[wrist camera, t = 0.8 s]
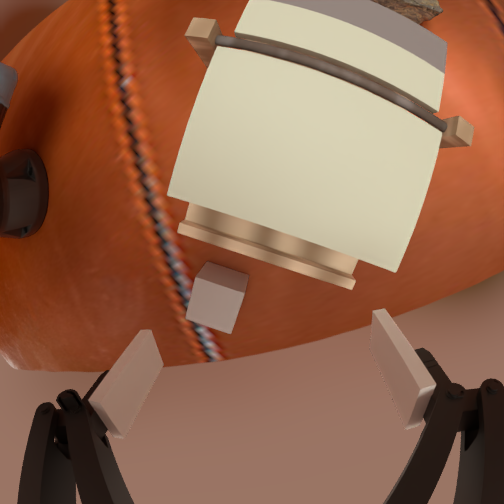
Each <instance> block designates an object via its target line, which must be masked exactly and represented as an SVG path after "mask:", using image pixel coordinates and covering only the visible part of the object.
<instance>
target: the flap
mask: <svg viewBox="0 0 504 504" xmlns="http://www.w3.org/2000/svg"><path fill="white" fill-rule="evenodd" d="M234 32H235V36H236V37H237V38H242V39H248V40H252V41H257V42H262V43H266V44H270V45H274V46H278V47H282V48H285V49H289V50H293V51H296V52H299V53H303V54H306V55H309V56H312V57H315V58H318V59H321V60H324V61H326V62H329V63H332V64H334V65H337V66H340V67H342V68H345V69H347V70H350V71H352V72H354V73H357V74H359V75H361V76H364V77H366V78H368V79H370V80H372V81H374V82H376V83H379V84H381V85H383V86H385V87H387V88H389V89H391V90H393V91H394V92H396V93H398V94H400V95H402V96H404V97H406V98H407V99H409V100H411V101H413V102H414V103H416V104H418V105H419V106H421V107H423V108H424V109H426V110H428V111H429V112H431V113H432V114H433V113H436V112H439V107H440V101H441V95H442V88H443V81H444V74H445V65H446V54H447V42H445V41H444V40H442V39H441V38H439V37H438V36H436V35H435V34H433V33H432V32H430V31H428V30H427V29H425V28H424V27H422V26H420V25H418V24H417V23H415V22H413V21H411V20H410V19H408V18H406V17H404V16H402V15H400V14H398V13H396V12H394V11H392V10H390V9H388V8H386V7H384V6H382V5H380V4H378V3H375V2H373V1H371V0H249V2H248V4H247V6H246V8H245V10H244V12H243V14H242V16H241V18H240V21H239V23H238V25H237V27H236V29H235V31H234ZM441 137H442V132H440V131H439V130H437V129H436V128H434V127H433V126H431V125H429V124H428V123H426V122H424V121H423V120H421V119H419V118H418V117H416V116H414V115H413V114H411V113H409V112H407V111H406V110H404V109H402V108H400V107H398V106H396V105H394V104H392V103H391V102H389V101H387V100H385V99H383V98H381V97H379V96H376V95H374V94H372V93H370V92H368V91H366V90H364V89H361V88H359V87H357V86H354V85H352V84H350V83H347V82H345V81H342V80H340V79H337V78H335V77H332V76H330V75H327V74H324V73H321V72H319V71H316V70H313V69H310V68H307V67H304V66H301V65H297V64H294V63H291V62H287V61H284V60H280V59H277V58H273V57H269V56H265V55H261V54H256V53H252V52H247V51H243V50H238V49H232V48H227V47H221V46H217V48H216V50H215V52H214V55H213V57H212V60H211V62H210V64H209V67H208V69H207V72H206V74H205V77H204V80H203V82H202V85H201V87H200V90H199V93H198V96H197V98H196V101H195V104H194V107H193V110H192V112H191V115H190V118H189V121H188V124H187V127H186V130H185V133H184V137H183V140H182V143H181V146H180V150H179V153H178V156H177V160H176V163H175V167H174V170H173V174H172V177H171V181H170V185H169V189H168V193H167V196H170V197H174V198H177V199H180V200H184V201H187V202H190V203H193V204H197V205H200V206H203V207H206V208H209V209H213V210H216V211H219V212H222V213H225V214H228V215H231V216H235V217H238V218H241V219H244V220H247V221H250V222H253V223H256V224H259V225H262V226H265V227H268V228H271V229H274V230H277V231H280V232H283V233H286V234H289V235H292V236H295V237H298V238H301V239H304V240H306V241H309V242H312V243H315V244H318V245H321V246H324V247H326V248H329V249H332V250H335V251H338V252H341V253H343V254H346V255H349V256H352V257H354V258H357V259H360V260H363V261H365V262H368V263H371V264H374V265H376V266H379V267H382V268H384V269H387V270H390V271H392V272H395V273H396V271H397V269H398V267H399V265H400V262H401V260H402V258H403V255H404V253H405V250H406V248H407V246H408V243H409V241H410V238H411V235H412V233H413V230H414V228H415V225H416V222H417V219H418V217H419V214H420V211H421V208H422V205H423V202H424V199H425V196H426V193H427V190H428V186H429V183H430V180H431V176H432V173H433V169H434V166H435V162H436V158H437V154H438V150H439V146H440V142H441Z"/></svg>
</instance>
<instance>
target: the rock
mask: <svg viewBox="0 0 504 504" xmlns="http://www.w3.org/2000/svg"><path fill="white" fill-rule="evenodd" d="M371 1H373V2H375V3H378V4H380V5H382V6H384V7H386V8H388V9H390V10H392V11H394V12H396V13H398V14H400V15H402V16H404V17H406V18H408V19H410V20H411V21H413V22H415V23H417V24H421V23H422V22H423V21H427V20H431V19H432V18H433V17H435V16H437V15H439V14H440V13H442V12H443V9H441V8H440V6H439V2H438V1H437V0H371Z"/></svg>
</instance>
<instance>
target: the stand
mask: <svg viewBox="0 0 504 504" xmlns="http://www.w3.org/2000/svg"><path fill="white" fill-rule="evenodd" d="M185 37H186V38H187V40H188V41H189V42H190V44H191V45H192V47H193V48H194V49H195V51H196V52H197V54H198V55H199V57H200V58H201V60H202V61H203V62H204V64H205V65H206V67H207V68H208V67H209V64H210V62H211V60H212V57H213V55H214V52H215V50H216V48H217V46H221V47H227V48H228V47H232V48H237V49H241V50H243V51H247V52H252V53H256V54H261V55H265V56H269V57H273V58H277V59H280V60H284V61H287V62H291V63H294V64H297V65H301V66H304V67H307V68H310V69H313V70H316V71H319V72H321V73H324V74H327V75H330V76H332V77H335V78H337V79H340V80H342V81H345V82H347V83H350V84H352V85H354V86H357V87H359V88H361V89H364V90H366V91H368V92H370V93H372V94H374V95H376V96H379V97H381V98H383V99H385V100H387V101H389V102H391V103H392V104H394V105H396V106H398V107H400V108H402V109H404V110H406V111H409V112H411V113H413V114H414V115H416V116H418V117H419V118H421V119H423V120H424V121H426V122H428V124H429V125H431V126H433V127H434V128H436V129H437V130H439V131H440V132H442V137H441V142H440V146H439V148H449V147H463V146H471V143H472V138H473V132H474V127H473V126H472V125H471V124H470V123H468V122H467V121H466V120H465V119H463V118H462V117H461V116H456V117H451V118H447V119H443V120H441V119H439V118H438V117H436V116H435V115H433V114H432V113H430V112H428V111H427V110H425V109H424V108H422V107H420V106H419V105H417V104H415V103H413V102H412V101H410V100H409V99H407V98H406V97H404V96H402V95H400V94H398V93H396V92H394V91H393V90H391V89H389V88H387V87H385V86H383V85H381V84H379V83H376V82H374V81H372V80H370V79H368V78H366V77H364V76H361V75H359V74H357V73H354V72H352V71H350V70H347V69H345V68H342V67H340V66H337V65H334V64H332V63H329V62H326V61H324V60H321V59H318V58H315V57H312V56H309V55H306V54H303V53H299V52H296V51H293V50H289V49H285V48H282V47H278V46H274V45H270V44H266V43H262V42H257V41H252V40H248V39H246V40H245V39H240V38H234V37H228V36H223V35H222V33H221V30H220V28H219V25H218V23H217V20H214V19H205V18H193V20H192V22H191V24H190V26H189V28H188V30H187V32H186V34H185ZM177 233H180V234H183V235H186V236H189V237H192V238H195V239H198V240H201V241H204V242H207V243H210V244H213V245H216V246H219V247H222V248H225V249H228V250H231V251H234V252H237V253H240V254H243V255H246V256H249V257H252V258H255V259H258V260H261V261H264V262H268V263H271V264H274V265H277V266H280V267H283V268H286V269H289V270H292V271H295V272H298V273H301V274H304V275H307V276H310V277H313V278H317V279H320V280H323V281H326V282H329V283H332V284H335V285H338V286H341V287H344V288H347V289H351V290H352V289H353V286H354V284H355V282H356V280H355V279H354V277H353V276H352V273H353V271H354V268H355V266H356V264H357V261H358V259H357V258H354V257H352V256H349V255H346V254H343V253H341V252H338V251H335V250H332V249H329V248H326V247H324V246H321V245H318V244H315V243H312V242H309V241H306V240H304V239H301V238H298V237H295V236H292V235H289V234H286V233H283V232H280V231H277V230H274V229H271V228H268V227H265V226H262V225H259V224H256V223H253V222H250V221H247V220H244V219H241V218H238V217H235V216H231V215H228V214H225V213H222V212H219V211H216V210H213V209H209V208H206V207H203V206H200V205H197V204H193V203H189V206H188V210H187V214H186V218H185V220H183V221H181V222H180V223H179V227H178V231H177Z"/></svg>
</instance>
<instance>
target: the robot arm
mask: <svg viewBox="0 0 504 504" xmlns="http://www.w3.org/2000/svg"><path fill="white" fill-rule="evenodd" d="M17 81H18V74H17V71H16V70H15V69H14V68H12V67H10V66H8V65H5V64H3V63H1V62H0V128H1V125H2V122H3V119H4V117H5V114H6V111H7V109H8V108H9V106H10V100H11V97H12V95H13V92H14V89H15V87H16V84H17ZM47 204H48V181H47V175H46V171H45V167H44V165H43V162H42V160H41V159H40V157H39V156H38V154H37V153H35V152H34V151H33V150H30V149H17V150H14V151H12V152H10V153H7V154H5V155H4V156H2V157H0V237H7V238H18V239H19V238H24V237H27V236H30V235H32V234H34V233H35V232H37V230H38V229H39V228H40V226H41V225H42V223H43V220H44V218H45V214H46V210H47ZM370 351H371V353H372V356H373V358H374V360H375V362H376V364H377V366H378V368H379V371H380V373H381V375H382V377H383V379H384V382H385V384H386V386H387V388H388V391H389V393H390V395H391V397H392V400H393V402H394V404H395V407H396V409H397V412H398V414H399V416H400V419H401V421H402V424H403V426H404V429H405V430H406V429H410V428H413V427H416V426H419V425H420V423H421V421H422V419H423V418H424V420H425V422H426V425H425V427H424V429H423V431H422V433H421V436H420V438H419V441H418V443H417V445H416V447H415V449H414V451H413V453H412V455H411V457H410V459H409V461H408V463H407V465H406V467H405V468H404V470H403V472H402V474H401V476H400V477H399V479H398V481H397V483H396V484H395V486H394V487H393V489H392V491H391V492H390V494H389V496H388V497H387V499H386V500H385V502H384V503H383V504H427V503H428V501H429V499H430V497H431V495H432V493H433V491H434V489H435V487H436V485H437V482H438V481H439V478H440V476H441V474H442V471H443V469H444V467H445V464H446V461H447V458H448V456H449V453H450V451H451V448H452V445H453V442H454V439H455V436H456V433H457V432H460V431H461V448H460V450H461V451H460V462H459V471H458V479H457V486H456V493H455V498H454V503H453V504H504V386H503V384H502V383H501V382H500V381H498V380H496V379H487V380H485V381H484V382H483V383H482V385H481V386H480V388H477V389H469V390H465V388H464V387H462V386H461V385H460V384H456V383H451V381H450V380H449V378H448V377H447V375H446V374H445V372H444V371H443V370H442V368H441V367H440V366H439V365H438V363H437V361H436V360H435V358H434V357H433V356H432V354H431V353H430V352H429V351H427V350H425V349H424V348H420V349H416V350H414V349H413V348H412V347H411V345H410V343H409V342H408V341H407V339H406V338H405V336H404V335H403V333H402V332H401V330H400V329H399V328H398V326H397V325H396V323H395V322H394V321H393V319H392V318H391V316H390V315H389V314H388V312H387V311H386V310H385V309H380V310H374V311H373V314H372V327H371V339H370ZM163 365H164V364H163V361H162V359H161V356H160V353H159V351H158V348H157V345H156V342H155V339H154V337H153V334H152V331H151V330H140V331H139V333H138V334H137V335H136V337H135V338H134V339H133V340H132V342H131V343H130V344H129V346H128V347H127V348H126V350H125V351H124V352H123V354H122V355H121V356H120V357H119V359H118V360H117V361H116V363H115V364H114V365H113V367H112V368H111V369H110V370H107V371H105V372H104V373H103V374H101V375H100V376H99V378H98V379H97V380H96V382H95V383H94V384H93V387H91V388H90V390H89V391H88V392H87V394H86V395H85V396H84V398H83V399H82V400H81V398H80V396H79V395H78V393H77V392H76V391H75V390H72V389H69V390H65V391H63V392H61V393H60V394H59V395H58V397H57V399H56V401H57V403H58V404H59V406H60V407H61V409H56V408H55V407H54V405H53V404H52V403H50V402H46V403H43V404H41V405H40V406H39V407H38V408H37V409H36V412H35V415H34V419H33V422H32V426H31V430H30V434H29V438H28V442H27V446H26V451H25V455H24V460H23V466H22V472H21V478H20V485H19V492H18V502H17V504H76V484H77V488H78V492H79V495H80V499H81V502H82V504H134V502H133V500H132V498H131V496H130V494H129V492H128V489H127V487H126V485H125V483H124V480H123V478H122V475H121V473H120V471H119V468H118V465H117V463H116V460H115V457H114V455H113V452H112V449H111V446H110V443H109V440H108V437H107V436H106V434H105V433H106V432H107V430H109V432H110V433H111V435H112V436H113V437H117V438H121V439H125V438H126V436H127V434H128V432H129V430H130V428H131V426H132V424H133V422H134V420H135V418H136V416H137V414H138V412H139V410H140V408H141V407H142V405H143V403H144V401H145V399H146V397H147V395H148V393H149V391H150V389H151V387H152V386H153V384H154V382H155V380H156V378H157V376H158V374H159V372H160V371H161V369H162V367H163ZM54 438H55V442H54Z"/></svg>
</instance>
